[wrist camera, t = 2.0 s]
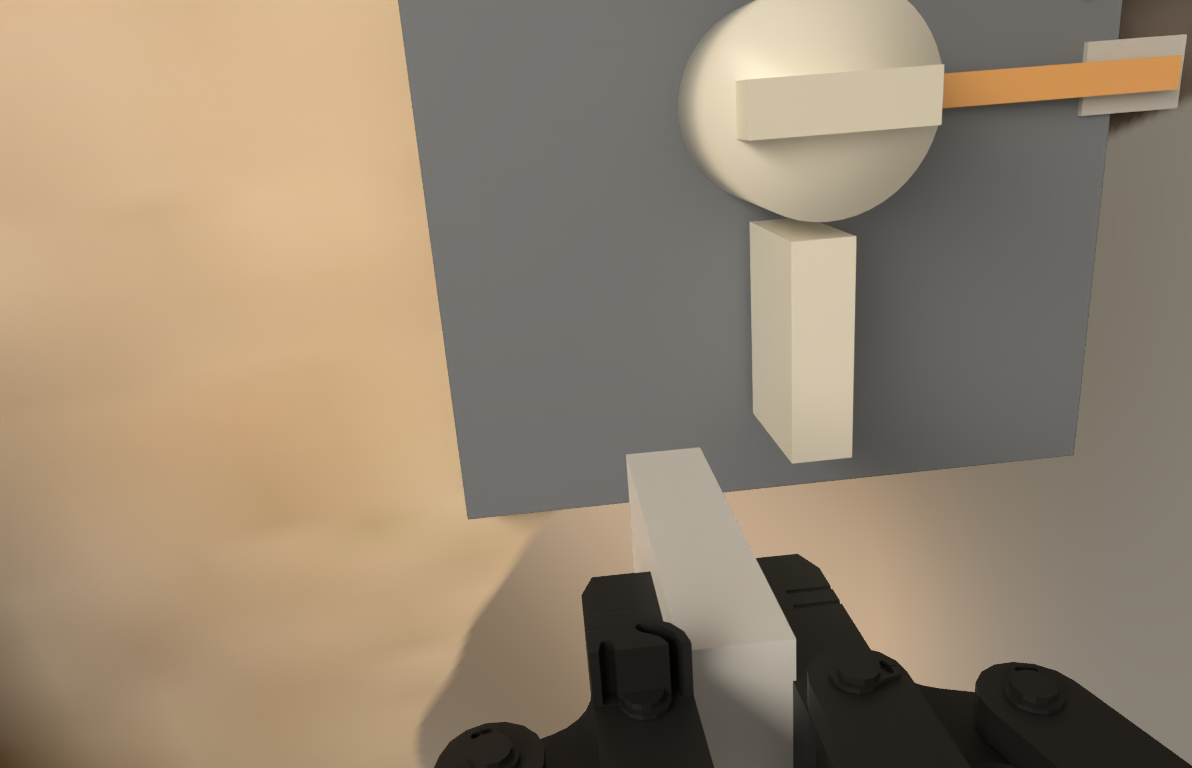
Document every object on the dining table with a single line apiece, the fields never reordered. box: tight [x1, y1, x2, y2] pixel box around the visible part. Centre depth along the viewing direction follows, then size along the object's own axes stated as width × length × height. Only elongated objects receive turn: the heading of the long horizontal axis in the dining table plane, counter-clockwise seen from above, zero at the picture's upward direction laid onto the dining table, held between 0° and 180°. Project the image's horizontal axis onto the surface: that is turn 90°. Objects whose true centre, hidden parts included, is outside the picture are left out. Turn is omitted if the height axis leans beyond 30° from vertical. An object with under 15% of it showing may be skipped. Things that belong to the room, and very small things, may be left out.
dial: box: [678, 0, 1182, 464], centre depth 25 cm, size 16×13×6 cm
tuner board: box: [398, 0, 1187, 519], centre depth 27 cm, size 24×26×2 cm
